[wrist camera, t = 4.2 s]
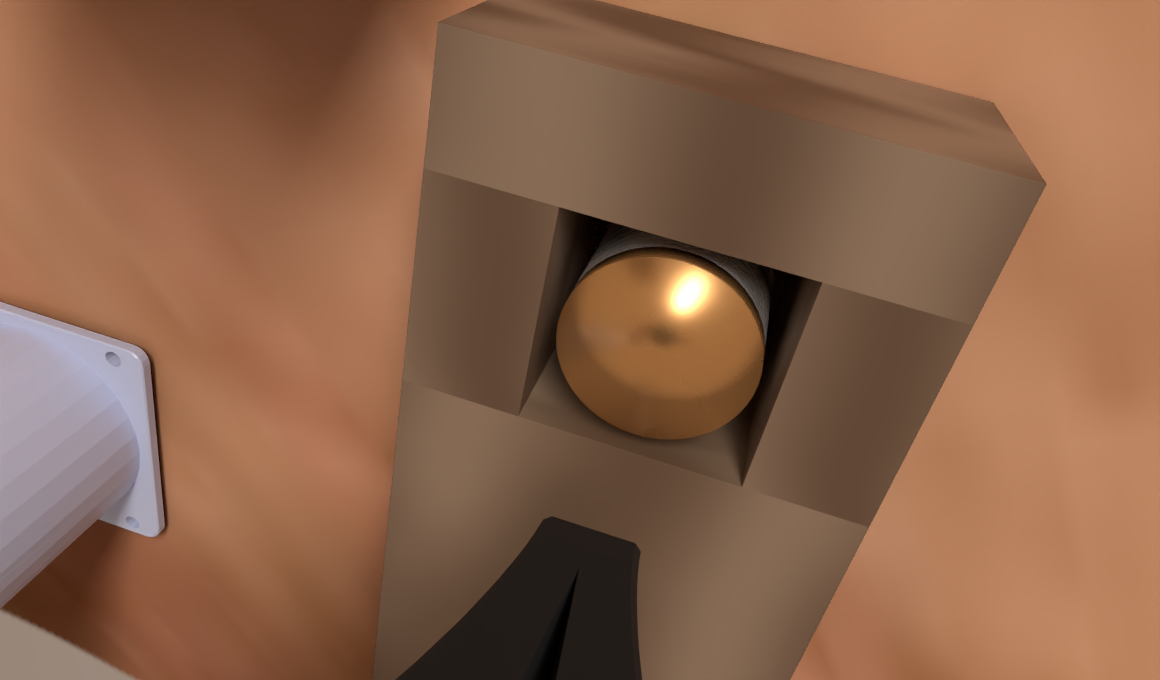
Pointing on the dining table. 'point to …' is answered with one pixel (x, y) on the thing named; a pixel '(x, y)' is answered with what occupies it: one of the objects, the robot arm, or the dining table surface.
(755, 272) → the peg
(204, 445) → the dining table surface
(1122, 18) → the dining table surface
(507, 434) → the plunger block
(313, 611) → the dining table surface
